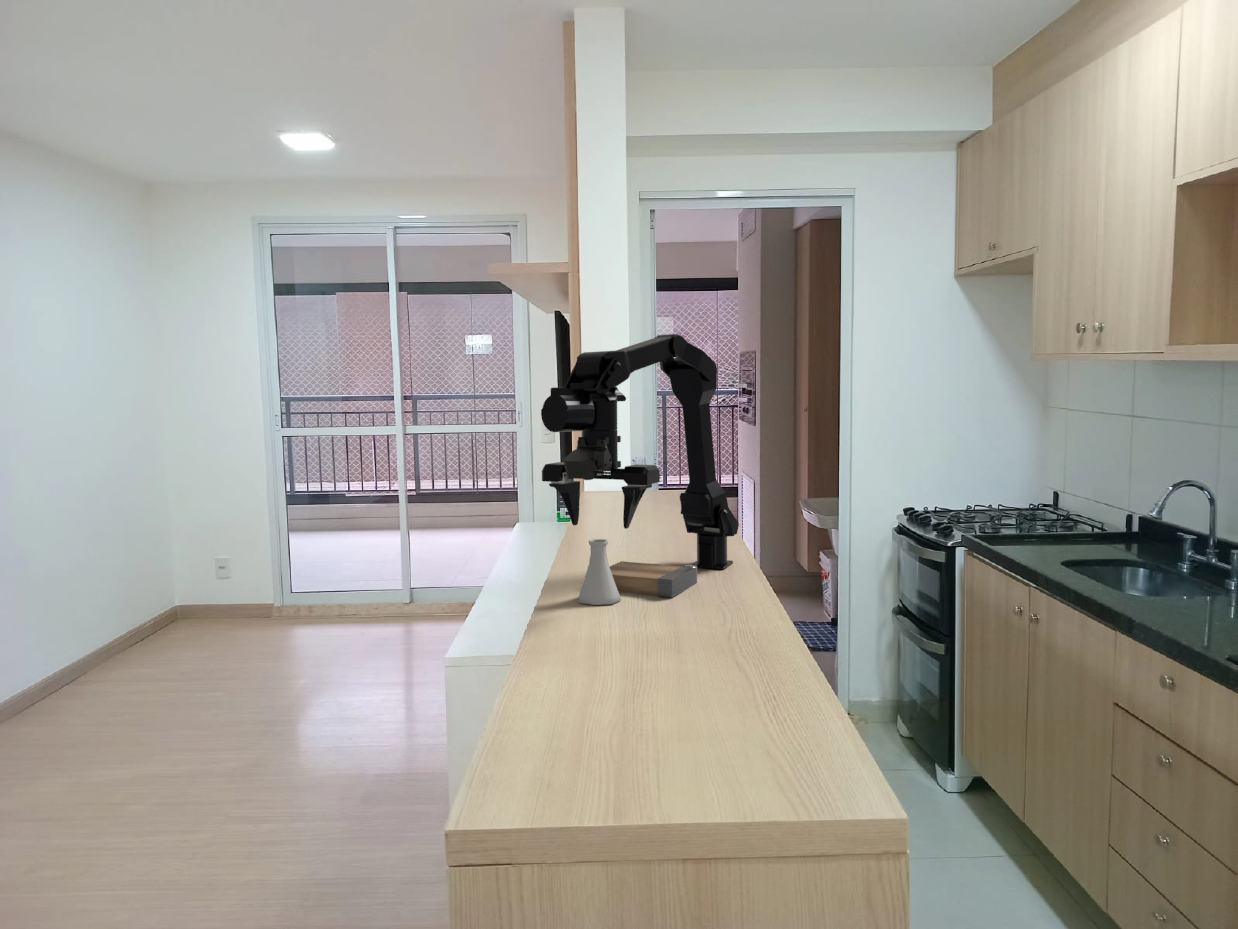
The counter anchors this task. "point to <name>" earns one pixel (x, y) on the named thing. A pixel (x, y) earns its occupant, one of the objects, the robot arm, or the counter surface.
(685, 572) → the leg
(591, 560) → the flask
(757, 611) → the counter surface
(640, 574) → the tan square panel
